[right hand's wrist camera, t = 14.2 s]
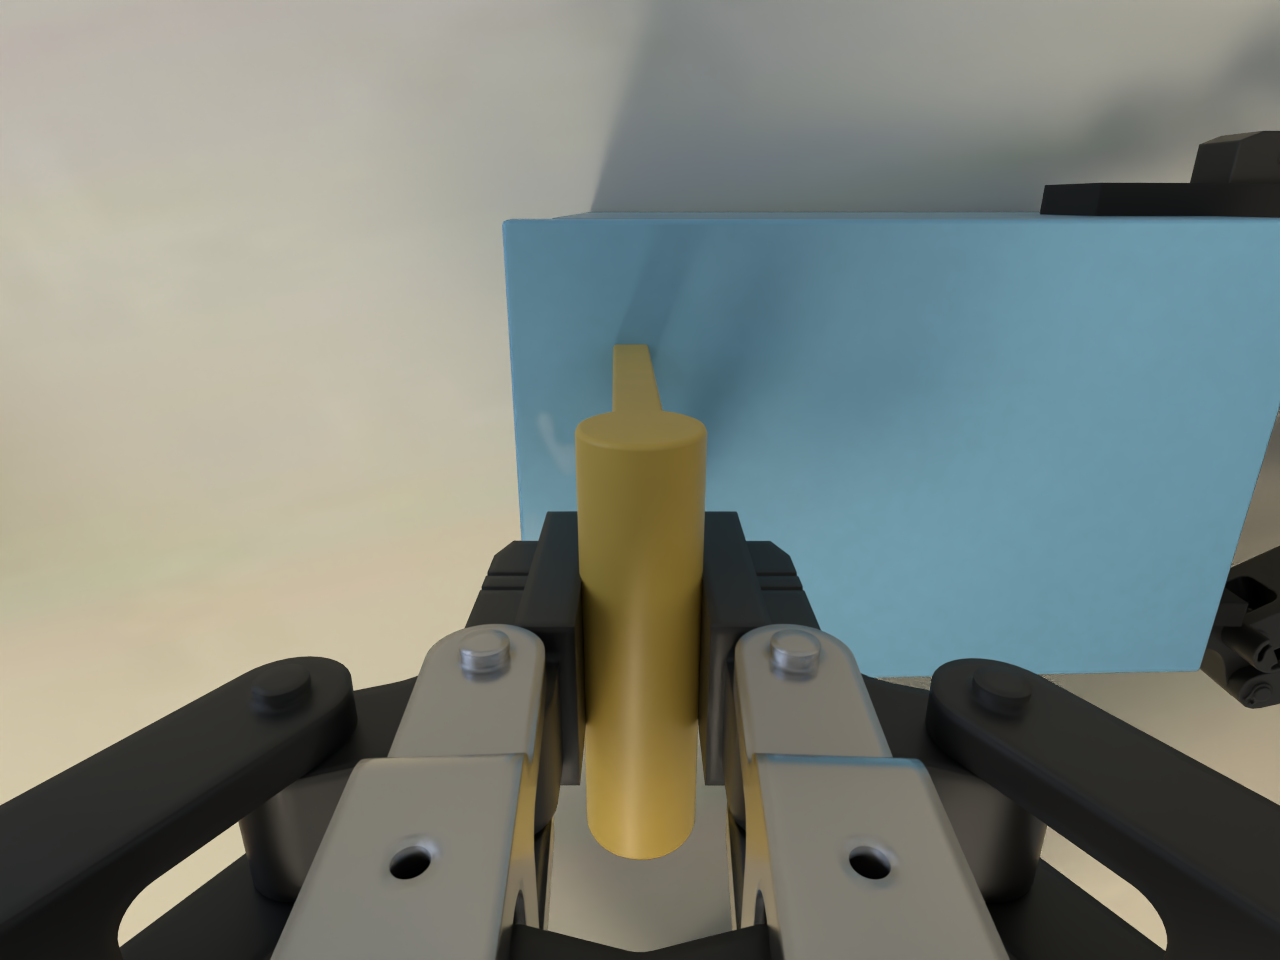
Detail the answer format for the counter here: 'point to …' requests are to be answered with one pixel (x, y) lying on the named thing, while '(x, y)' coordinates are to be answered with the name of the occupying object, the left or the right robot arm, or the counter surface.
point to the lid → (886, 446)
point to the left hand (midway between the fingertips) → (1027, 413)
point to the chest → (842, 215)
